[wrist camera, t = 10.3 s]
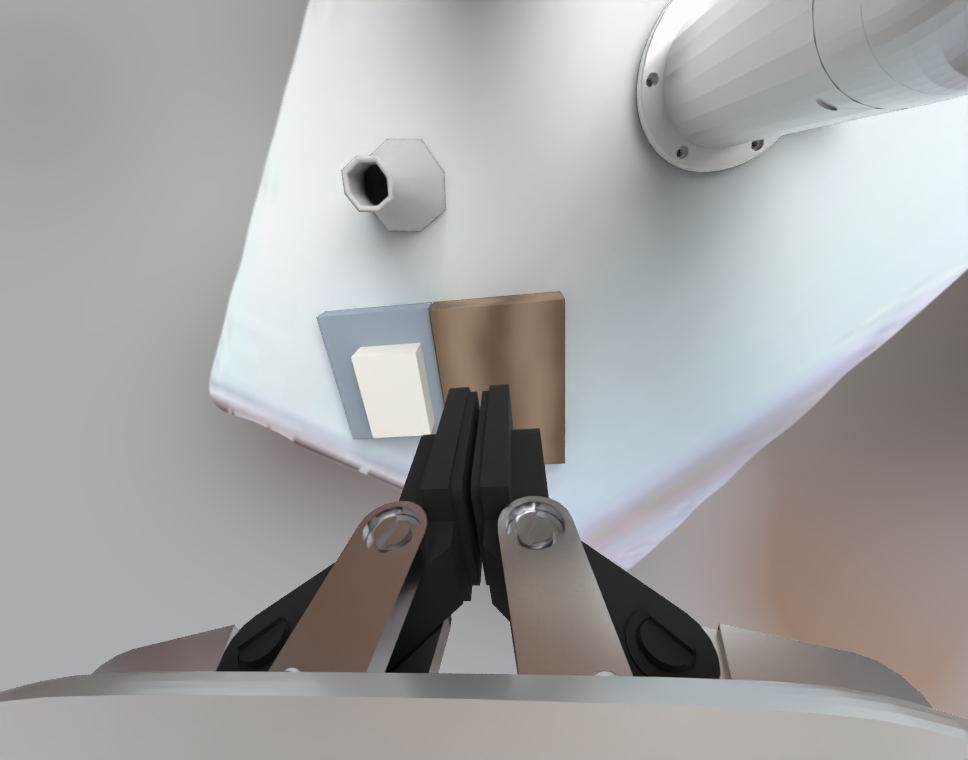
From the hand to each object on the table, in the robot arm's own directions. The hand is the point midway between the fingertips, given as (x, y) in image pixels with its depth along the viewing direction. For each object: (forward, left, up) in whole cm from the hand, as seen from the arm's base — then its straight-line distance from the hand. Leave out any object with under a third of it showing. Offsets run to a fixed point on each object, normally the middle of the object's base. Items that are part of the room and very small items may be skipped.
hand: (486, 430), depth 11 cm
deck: (0, +12, -26) cm, 29 cm away
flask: (+7, -7, -27) cm, 29 cm away
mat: (+12, +10, -26) cm, 30 cm away
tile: (+11, +10, -24) cm, 29 cm away
